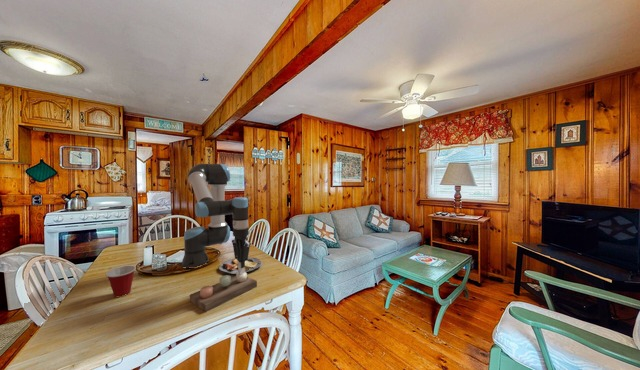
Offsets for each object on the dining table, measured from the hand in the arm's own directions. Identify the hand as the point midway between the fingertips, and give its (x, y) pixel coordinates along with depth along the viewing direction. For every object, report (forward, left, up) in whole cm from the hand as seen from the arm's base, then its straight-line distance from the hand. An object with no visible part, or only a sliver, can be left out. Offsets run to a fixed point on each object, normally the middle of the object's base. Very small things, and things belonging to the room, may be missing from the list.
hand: (241, 273), depth 113 cm
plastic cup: (-40, -38, -7) cm, 56 cm away
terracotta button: (0, -18, -3) cm, 18 cm away
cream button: (0, 0, -3) cm, 3 cm away
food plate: (-21, +14, -7) cm, 26 cm away
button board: (0, -9, -7) cm, 11 cm away
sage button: (0, -9, -2) cm, 9 cm away
